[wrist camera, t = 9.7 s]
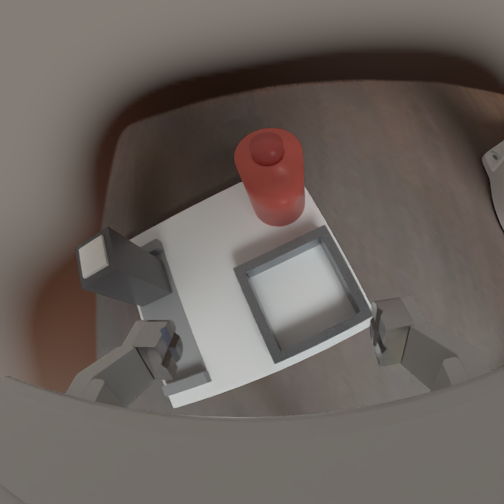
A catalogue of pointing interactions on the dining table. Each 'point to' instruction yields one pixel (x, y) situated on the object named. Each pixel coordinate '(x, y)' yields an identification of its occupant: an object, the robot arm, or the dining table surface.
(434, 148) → the dining table surface
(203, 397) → the panel
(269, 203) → the lockout cap
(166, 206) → the dining table surface
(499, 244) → the dining table surface
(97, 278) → the switch knob
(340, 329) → the socket
